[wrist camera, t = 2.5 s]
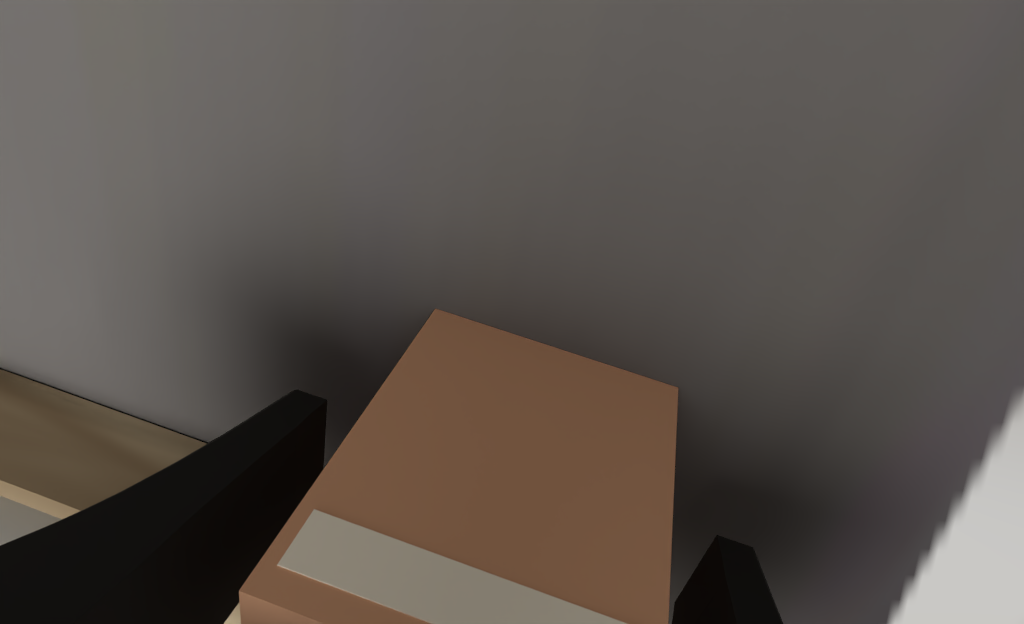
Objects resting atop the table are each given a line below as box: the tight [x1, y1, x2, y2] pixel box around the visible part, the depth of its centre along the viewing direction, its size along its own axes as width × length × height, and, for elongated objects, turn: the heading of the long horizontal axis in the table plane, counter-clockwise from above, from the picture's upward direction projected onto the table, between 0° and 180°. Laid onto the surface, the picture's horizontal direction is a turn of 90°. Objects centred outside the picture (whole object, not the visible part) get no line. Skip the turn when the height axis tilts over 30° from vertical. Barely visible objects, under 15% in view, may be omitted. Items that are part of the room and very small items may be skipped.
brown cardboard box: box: [239, 309, 678, 624], centre depth 10 cm, size 5×5×6 cm
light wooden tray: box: [0, 369, 241, 624], centre depth 16 cm, size 9×14×3 cm, turn 77°
